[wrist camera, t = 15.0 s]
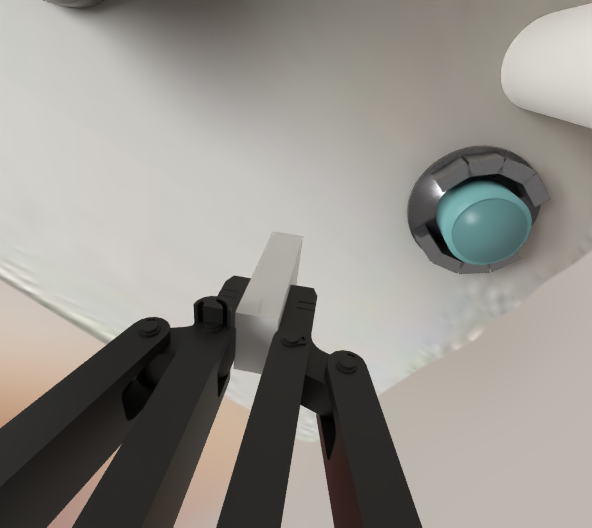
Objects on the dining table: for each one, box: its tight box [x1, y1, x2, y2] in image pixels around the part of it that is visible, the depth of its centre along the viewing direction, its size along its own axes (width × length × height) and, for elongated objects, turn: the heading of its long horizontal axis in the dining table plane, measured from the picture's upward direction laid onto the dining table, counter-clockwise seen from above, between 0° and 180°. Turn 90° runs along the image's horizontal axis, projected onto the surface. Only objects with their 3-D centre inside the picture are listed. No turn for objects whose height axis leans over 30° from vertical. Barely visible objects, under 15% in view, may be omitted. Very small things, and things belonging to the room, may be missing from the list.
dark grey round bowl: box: [407, 146, 550, 274], centre depth 40 cm, size 14×14×4 cm
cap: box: [436, 176, 532, 265], centre depth 38 cm, size 8×8×6 cm
